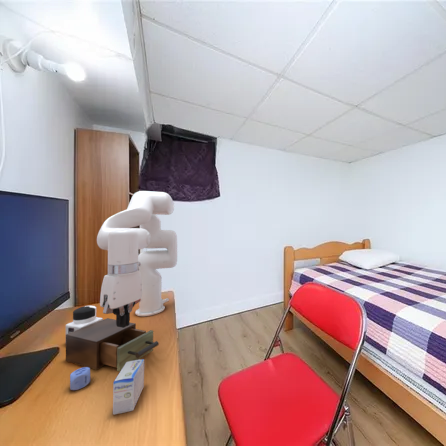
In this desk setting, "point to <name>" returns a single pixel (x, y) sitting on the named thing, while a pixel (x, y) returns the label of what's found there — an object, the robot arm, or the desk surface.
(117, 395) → the medicine box
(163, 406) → the desk surface
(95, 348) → the cabinet
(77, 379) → the decorative dice
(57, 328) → the desk surface
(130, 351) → the drawer
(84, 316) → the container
